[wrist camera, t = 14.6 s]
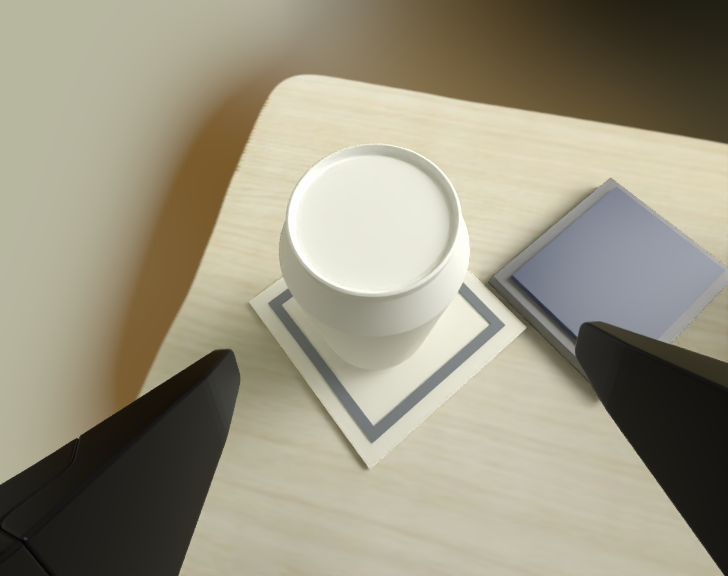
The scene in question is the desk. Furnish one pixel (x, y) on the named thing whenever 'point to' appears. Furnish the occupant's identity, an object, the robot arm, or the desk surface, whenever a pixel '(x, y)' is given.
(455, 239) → the beverage can
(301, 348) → the print card
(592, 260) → the ink pad
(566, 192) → the desk surface
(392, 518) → the desk surface
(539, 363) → the desk surface
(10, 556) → the robot arm
